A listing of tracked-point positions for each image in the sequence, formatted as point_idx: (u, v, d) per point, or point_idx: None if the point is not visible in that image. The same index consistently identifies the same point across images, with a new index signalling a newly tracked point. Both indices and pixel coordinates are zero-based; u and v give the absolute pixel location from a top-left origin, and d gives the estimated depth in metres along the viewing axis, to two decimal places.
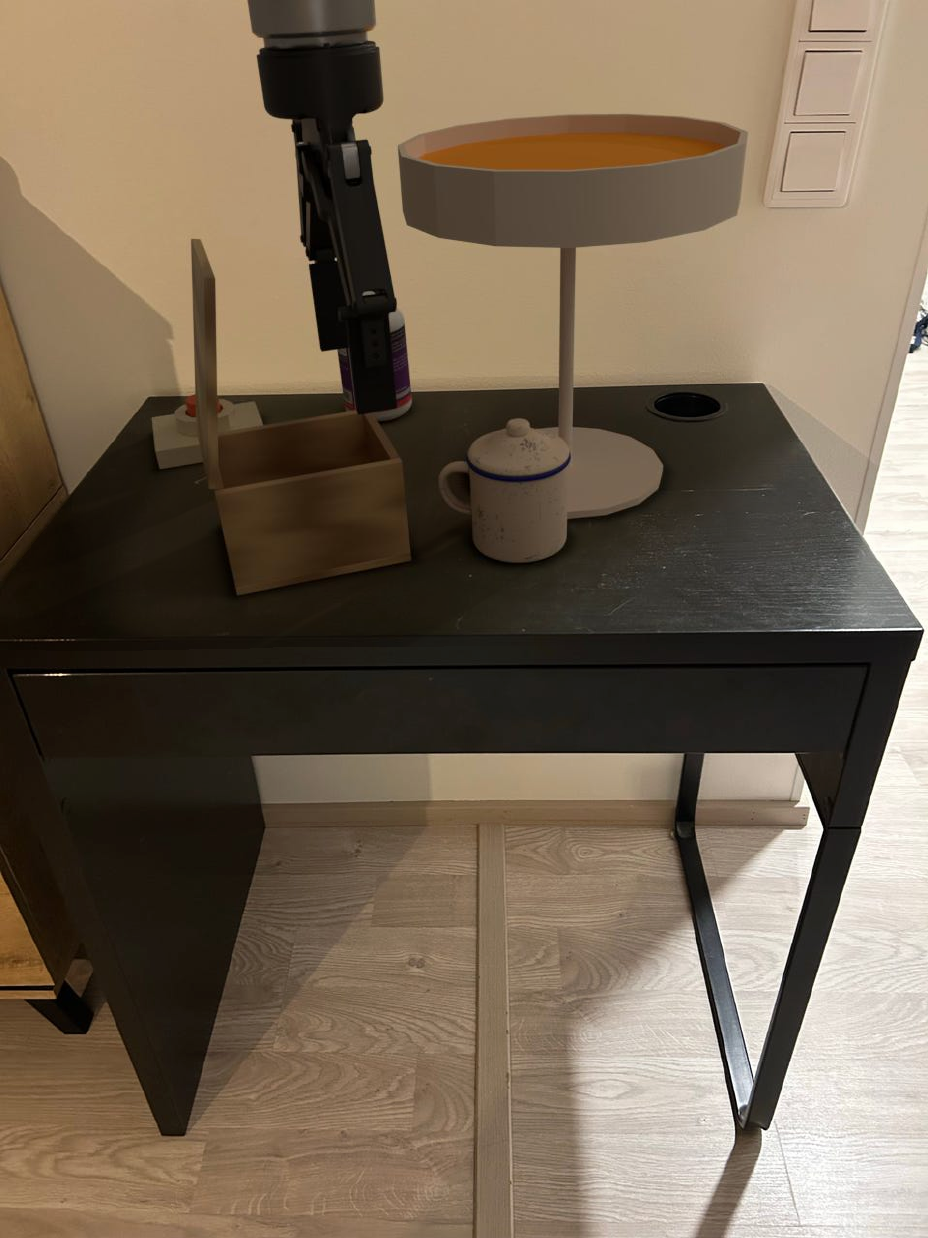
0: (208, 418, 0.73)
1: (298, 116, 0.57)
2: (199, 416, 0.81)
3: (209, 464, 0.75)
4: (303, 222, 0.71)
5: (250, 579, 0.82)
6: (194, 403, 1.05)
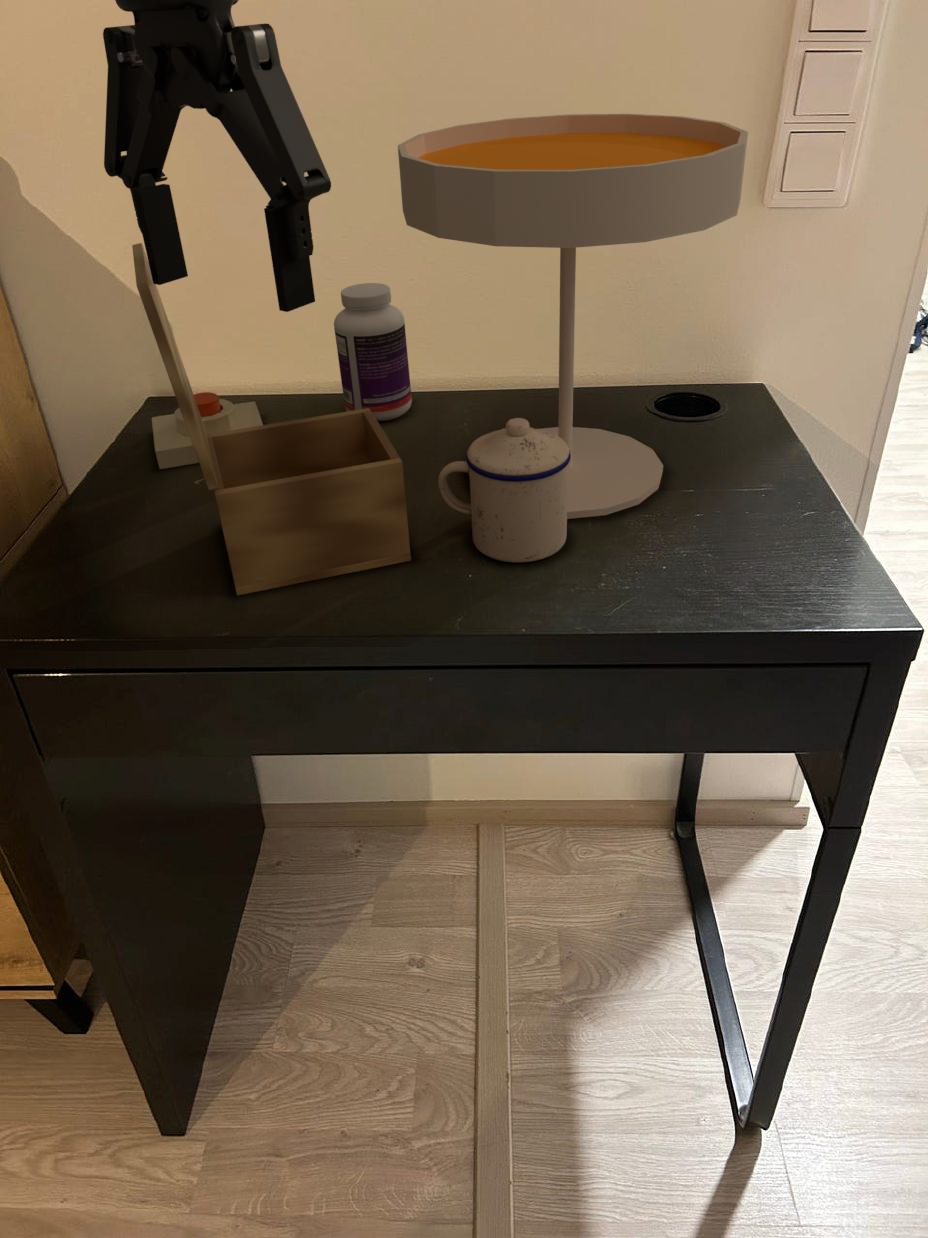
0: (186, 422, 0.73)
1: (182, 5, 0.56)
2: None
3: (201, 466, 0.75)
4: (116, 146, 0.67)
5: (250, 579, 0.82)
6: None
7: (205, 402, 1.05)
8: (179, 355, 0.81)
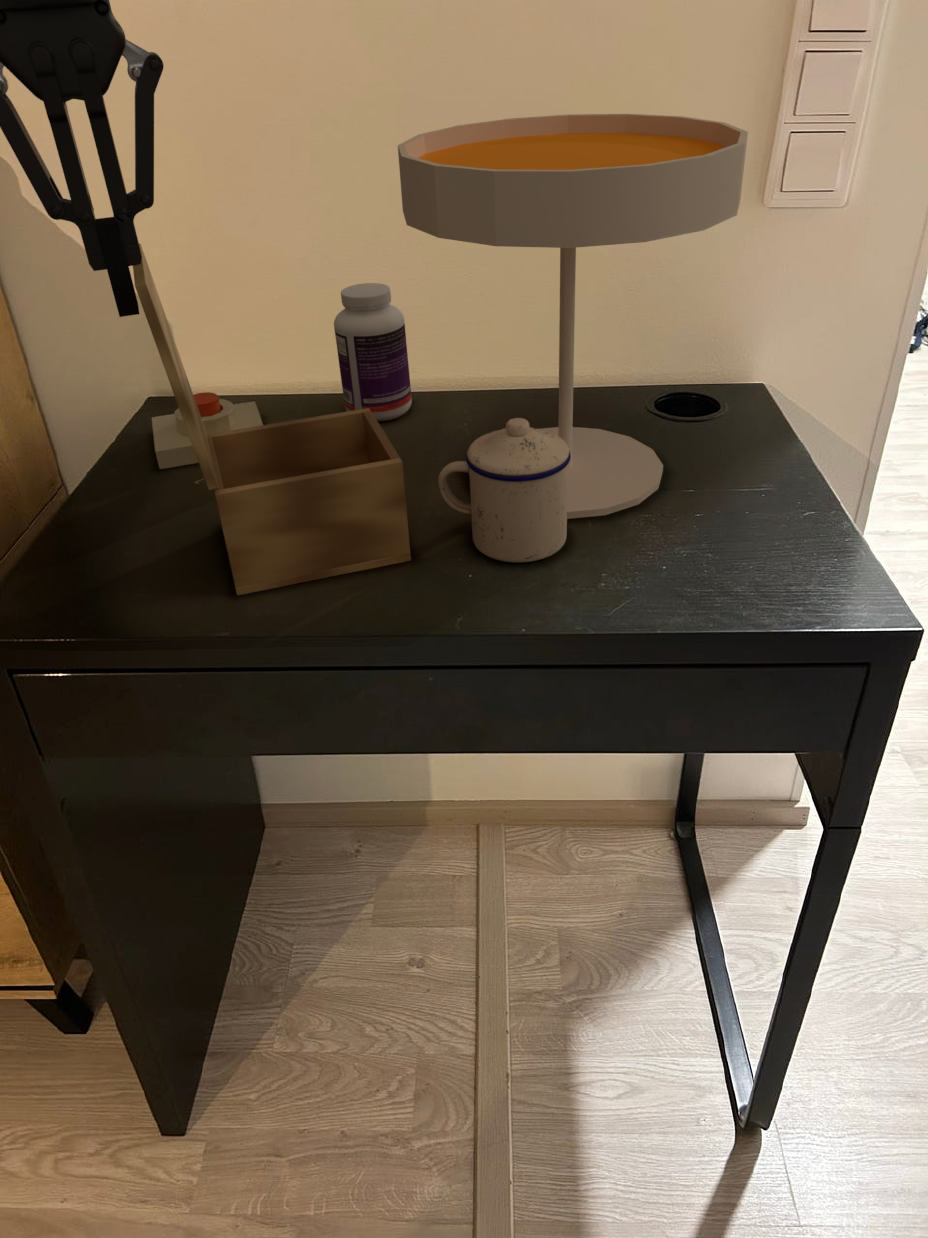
0: (185, 422, 0.73)
1: (95, 0, 0.61)
2: None
3: (201, 466, 0.75)
4: (48, 180, 0.66)
5: (250, 579, 0.82)
6: None
7: (205, 402, 1.05)
8: (178, 355, 0.81)
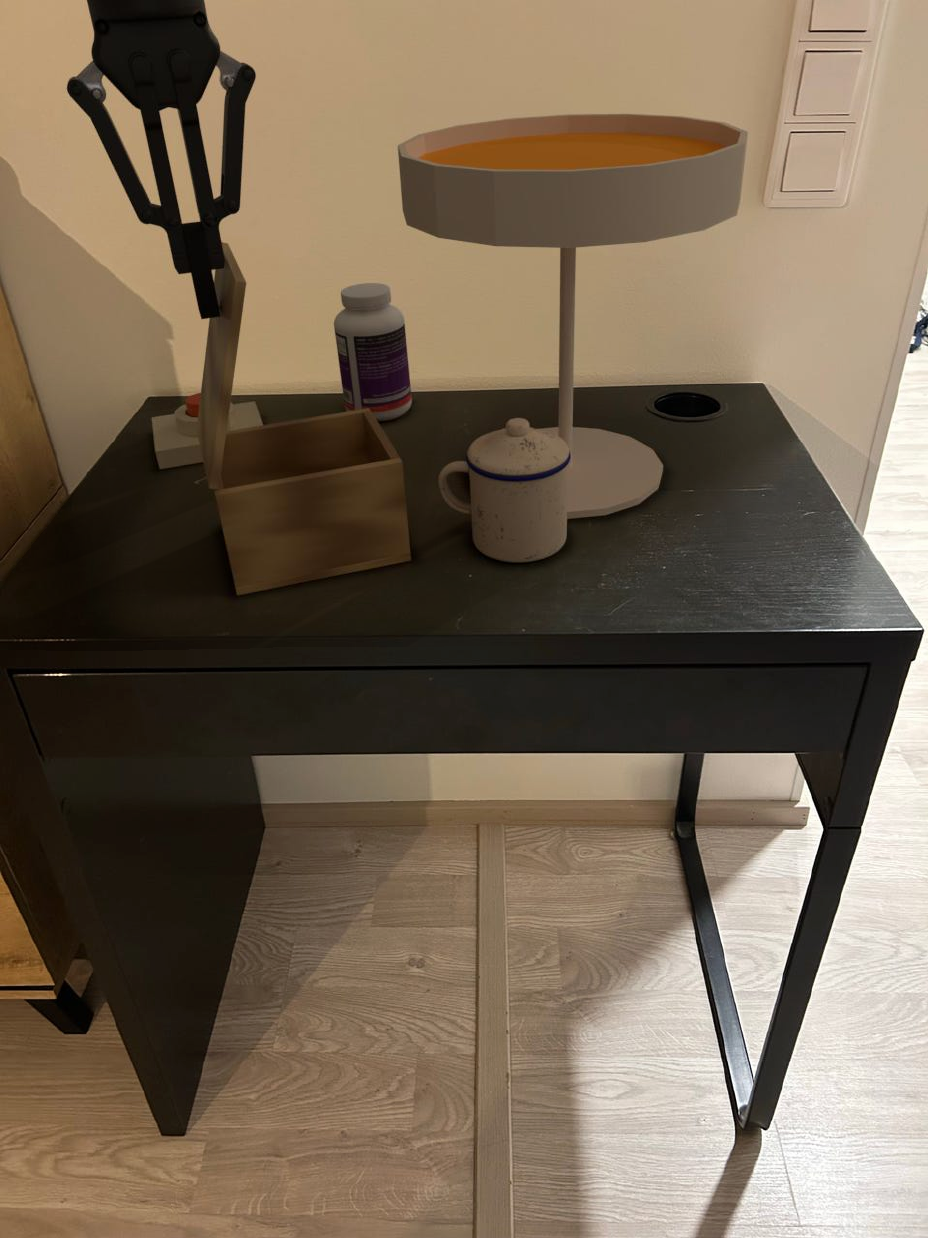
0: (219, 418, 0.74)
1: (196, 12, 0.63)
2: (204, 416, 0.81)
3: (213, 464, 0.75)
4: (140, 186, 0.68)
5: (250, 579, 0.82)
6: (194, 403, 1.05)
7: None
8: None
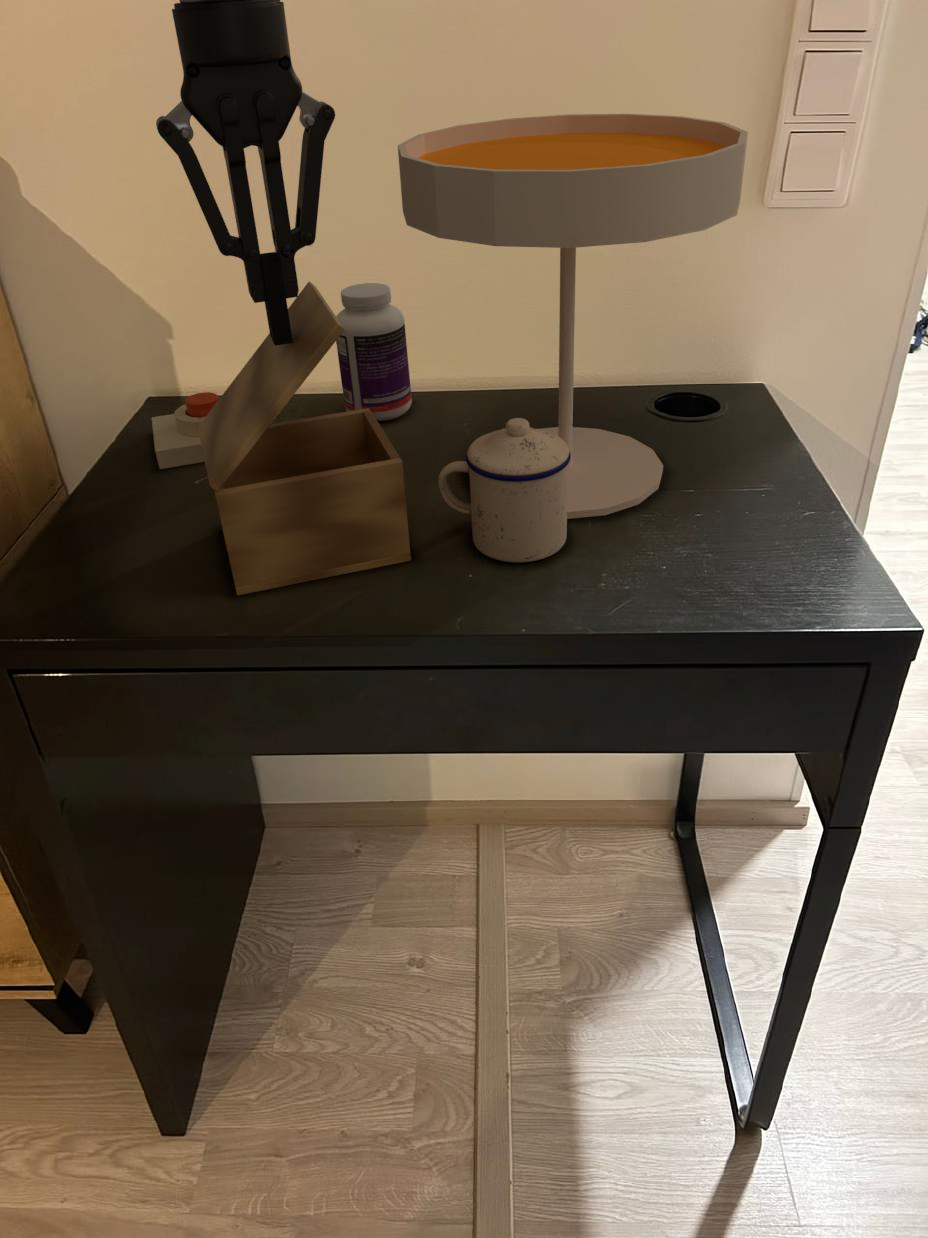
0: (255, 430, 0.75)
1: (282, 56, 0.66)
2: (221, 420, 0.82)
3: (226, 467, 0.76)
4: (223, 220, 0.71)
5: (250, 579, 0.82)
6: (194, 403, 1.05)
7: (205, 402, 1.05)
8: None
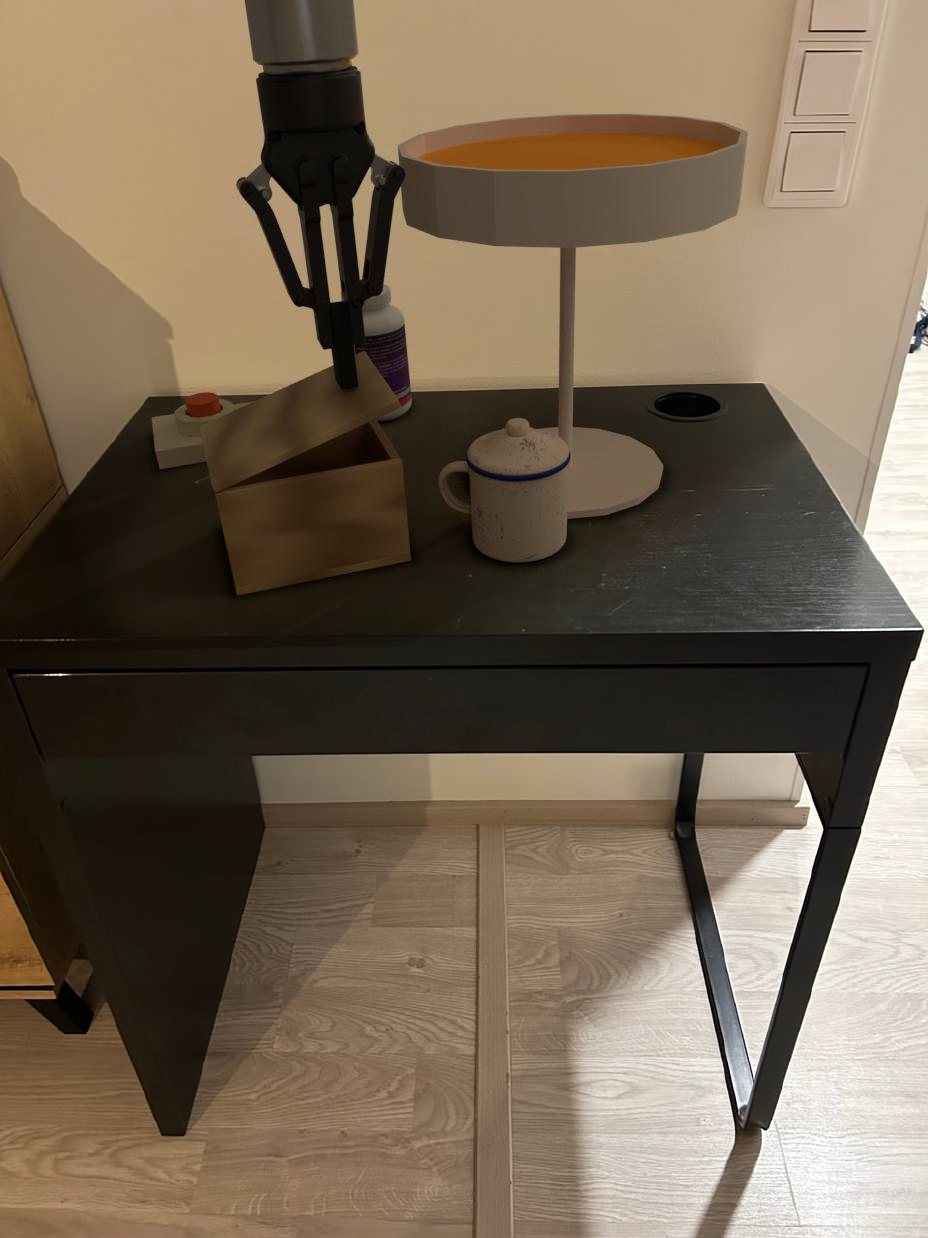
0: (279, 455, 0.77)
1: (359, 123, 0.69)
2: (234, 431, 0.83)
3: (236, 475, 0.76)
4: (297, 274, 0.75)
5: (250, 579, 0.82)
6: (194, 403, 1.05)
7: (205, 402, 1.05)
8: None
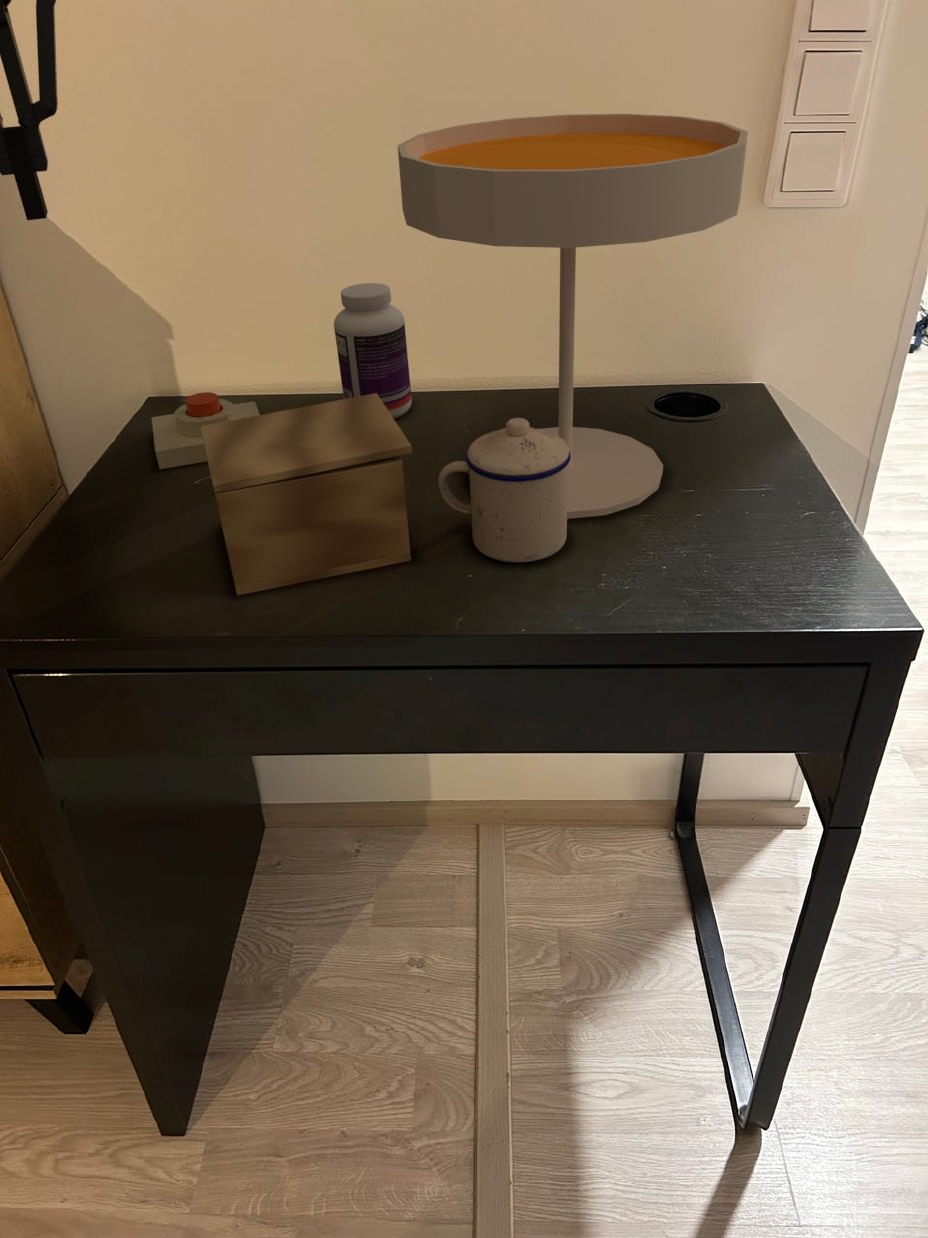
0: (286, 471, 0.78)
1: None
2: (238, 438, 0.83)
3: (239, 480, 0.77)
4: None
5: (250, 579, 0.82)
6: (194, 403, 1.05)
7: (205, 402, 1.05)
8: None
